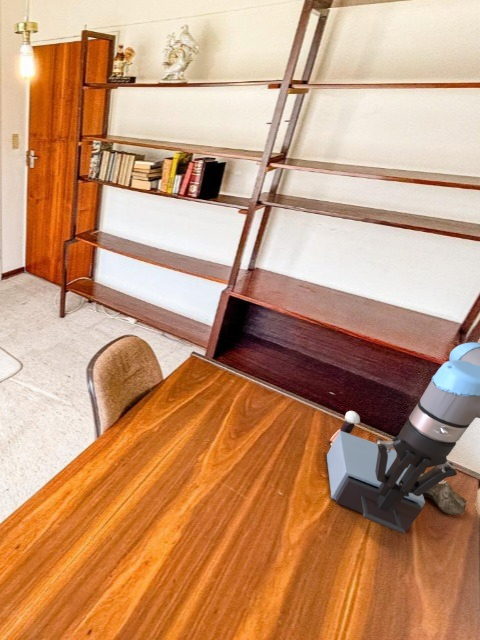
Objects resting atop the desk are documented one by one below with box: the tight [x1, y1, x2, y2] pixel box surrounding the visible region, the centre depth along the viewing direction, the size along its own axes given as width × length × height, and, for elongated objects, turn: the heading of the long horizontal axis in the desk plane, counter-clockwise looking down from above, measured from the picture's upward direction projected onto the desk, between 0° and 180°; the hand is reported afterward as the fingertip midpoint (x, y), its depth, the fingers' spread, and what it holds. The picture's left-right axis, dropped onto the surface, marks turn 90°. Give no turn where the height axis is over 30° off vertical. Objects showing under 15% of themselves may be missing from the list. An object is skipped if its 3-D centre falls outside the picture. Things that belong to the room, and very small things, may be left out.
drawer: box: [335, 476, 423, 535], centre depth 96 cm, size 21×13×8 cm, turn 149°
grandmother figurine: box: [329, 410, 361, 447], centre depth 112 cm, size 8×4×13 cm, turn 130°
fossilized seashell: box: [420, 472, 468, 516], centre depth 99 cm, size 8×7×10 cm
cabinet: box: [326, 431, 426, 509], centre depth 100 cm, size 16×15×10 cm
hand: (382, 505), depth 90 cm, fingers closed
